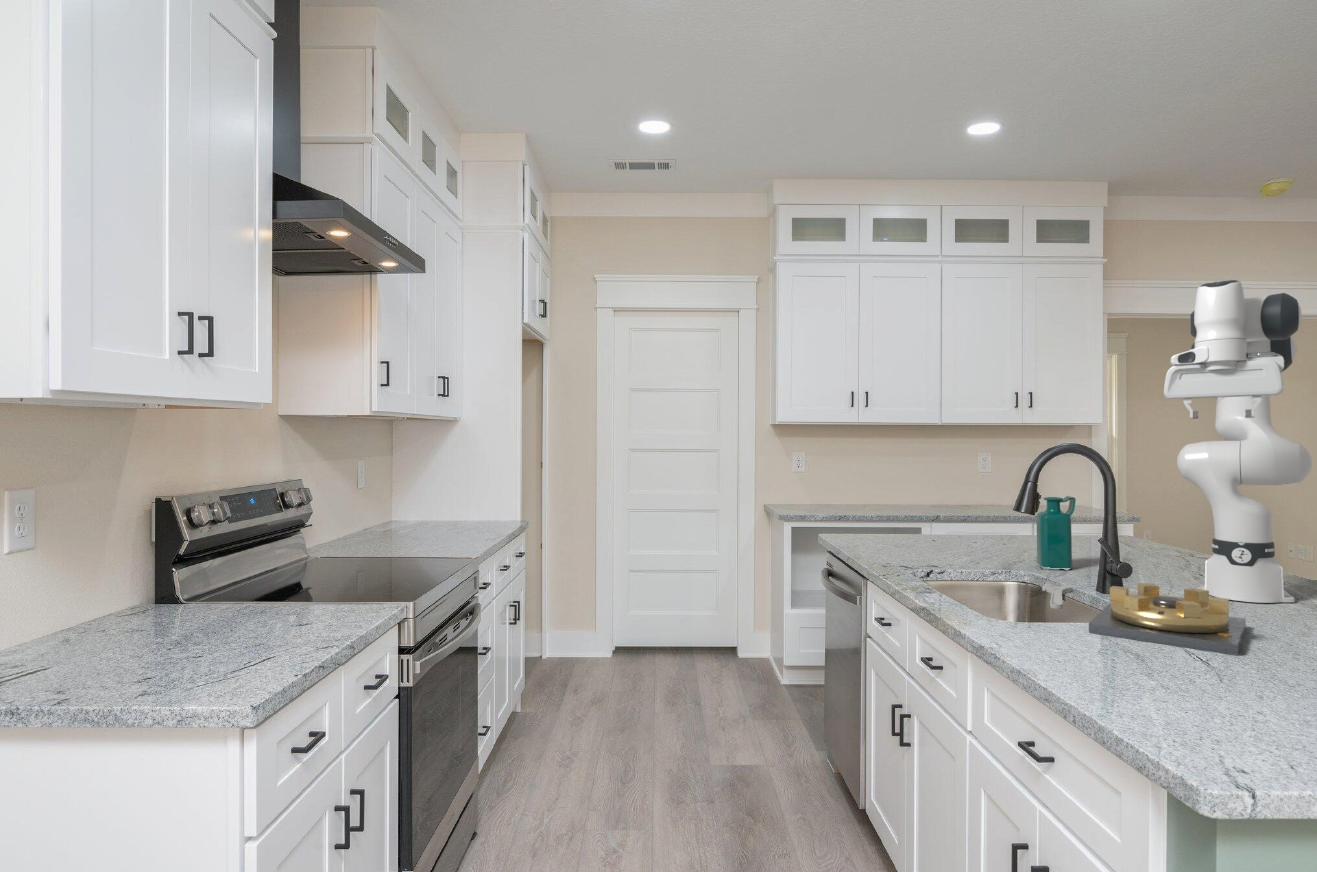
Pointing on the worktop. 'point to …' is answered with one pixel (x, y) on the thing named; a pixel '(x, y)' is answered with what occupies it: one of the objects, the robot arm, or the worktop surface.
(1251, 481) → the robot arm
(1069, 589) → the adjustable wrench
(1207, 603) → the ring nut
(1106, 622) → the base plate
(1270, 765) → the worktop surface
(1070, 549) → the pitcher
